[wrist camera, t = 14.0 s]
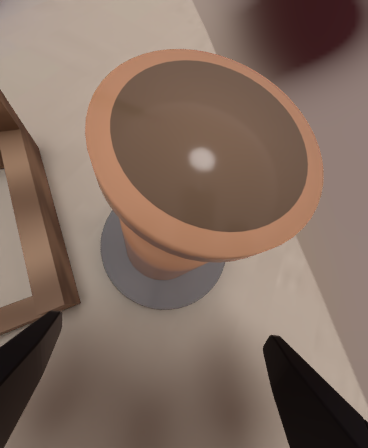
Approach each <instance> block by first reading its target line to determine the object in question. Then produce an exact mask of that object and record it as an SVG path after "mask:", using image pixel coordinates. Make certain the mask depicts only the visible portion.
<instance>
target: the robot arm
mask: <svg viewBox="0 0 368 448" xmlns="http://www.w3.org/2000/svg"><path fill="white" fill-rule="evenodd" d="M61 329H62V312H61V311H54V310H51V311H49V312H47V313H46V314H44V315H43V316H42V317H40V318H39V319H38V320H36V321H35V322H34V323H32V324H31V325H30V326H28V327H27V328H26V329H24V330H23V331H22V332H20V333H19V334H18V335H16V336H15V337H14V338H12V339H11V340H9V341H8V342H7V343H5V344H4V345H3V346H1V347H0V448H4V447H5V445H6V443H7V441H8V439H9V437H10V435H11V433H12V432H13V430H14V428H15V426H16V424H17V422H18V420H19V418H20V417H21V415H22V413H23V411H24V409H25V407H26V405H27V403H28V402H29V400H30V398H31V396H32V394H33V392H34V390H35V388H36V387H37V385H38V383H39V381H40V379H41V377H42V375H43V373H44V370H45V368H46V366H47V363H48V361H49V358H50V356H51V354H52V351H53V349H54V346H55V344H56V342H57V339H58V337H59V334H60V332H61ZM263 354H264V358H265V362H266V367H267V371H268V376H269V380H270V385H271V388H272V392H273V396H274V399H275V402H276V405H277V408H278V411H279V415H280V418H281V421H282V424H283V427H284V430H285V434H286V437H287V440H288V443H289V446H290V448H368V422H367V421H366V420H364V419H363V417H362V416H361V415H360V414H359V413H358V412H357V411H356V410H355V409H354V408H353V407H352V406H351V405H350V404H349V403H348V402H347V401H346V400H345V399H343V398H342V397H341V396H340V395H339V394H338V393H337V392H336V391H335V390H334V389H333V388H332V387H331V386H330V385H329V384H328V383H327V382H326V381H325V380H324V379H323V378H322V377H321V376H320V375H319V374H318V373H317V372H316V371H315V370H314V369H313V368H312V367H311V366H310V365H309V364H308V363H307V362H306V361H305V360H304V359H303V358H302V357H301V356H300V355H299V354H298V353H296V352H295V351H294V350H293V349H292V348H291V347H290V346H289V345H288V344H287V343H286V342H285V341H284V340H283V339H282V338H281V337H280V336H276V335H270V336H269V338H268V339H267V341H266V343H265V344H264V346H263Z"/></svg>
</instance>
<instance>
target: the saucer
mask: <svg viewBox="0 0 368 448" xmlns="http://www.w3.org/2000/svg"><path fill="white" fill-rule="evenodd" d="M101 256H102V261H103V265H104V268H105V270H106V272H107V275H108V277H109V278H110V280H111V281H112V283H113V284H114V285H115V286H116V288H117V289H118V290H119V291H120V292H121V293H122V294H124V295H125V296H126V297H127V298H129V299H131V300H132V301H134V302H136V303H138V304H140V305H142V306H146V307H149V308H154V309H176V308H181V307H184V306H187V305H189V304H192V303H194V302H196V301H197V300H199V299H200V298H202V297H203V296H204V295H206V294H207V293H208V292H209V291H210V290H211V289H212V288H213V286H214V285H215V284H216V282H217V281H218V279H219V277H220V275H221V273H222V271H223V268H224V265H225V262H218V263H216V262H208V263H206V264H204V265H202V266H200V267H198V268H196V269H194V270H192V271H190V272H188V273H186V274H184V275H182V276H179V277H177V278H175V279H171V280H155V279H152V278H149V277H147V276H144V275H143V274H141V273H140V272H139V271H138V270H136V268H135V267H134V266H133V265H132V263H131V262H130V260H129V258H128V255H127V252H126V247H125V243H124V238H123V233H122V228H121V224H120V219H119V217H118V216H117V215H116V214H115V213H114V211H113V210H112V212H111V213H110V215H109V217H108V218H107V221H106V223H105V225H104V228H103V232H102V236H101Z"/></svg>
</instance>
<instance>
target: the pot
mask: <svg viewBox="0 0 368 448" xmlns="http://www.w3.org/2000/svg"><path fill="white" fill-rule="evenodd" d="M85 135H86V143H87V150H88V153H89V156H90V159H91V163H92V166H93V169H94V172H95V175H96V178H97V181H98V184H99V187H100V189H101V191H102V193H103V195H104V197H105V199H106V201H107V202H108V204H109V205H110V207H111V208H112V210H113V211H114V213H115V214H116V215H117V216H118V217H119V219H120V224H121V228H122V233H123V238H124V243H125V247H126V252H127V255H128V258H129V260H130V262H131V263H132V265H133V266H134V267H135V268H136V270H138V271H139V272H140V273H141V274H143V275H144V276H147V277H149V278H152V279H155V280H171V279H175V278H177V277H179V276H182V275H184V274H186V273H188V272H190V271H192V270H194V269H196V268H198V267H200V266H202V265H204V264H206V263H208V262H216V263H218V262H230V261H236V260H240V259H244V258H248V257H250V256H253V255H256V254H259V253H262V252H264V251H267V250H269V249H272V248H274V247H277V246H279V245H281V244H283V243H285V242H286V241H288V240H289V239H291V238H293V237H294V236H295V235H296V234H297V233H298V232H299V231H301V229H303V227H304V226H305V225H306V224H307V222H308V221H309V220H310V219H311V217H312V216H313V213H314V212H315V210H316V208H317V206H318V203H319V200H320V197H321V193H322V187H323V163H322V157H321V153H320V149H319V146H318V143H317V141H316V138H315V135H314V133H313V131H312V129H311V127H310V125H309V124H308V122H307V121H306V119H305V117H304V116H303V114H302V113H301V112H300V110H299V109H298V108H297V107H296V105H295V104H294V103H293V102H292V101H291V100H290V99H289V98H288V96H287V95H285V93H283V92H282V91H281V90H280V89H279V88H278V87H277V86H276V85H274V84H273V83H272V82H270V81H269V80H267V79H266V78H265V77H264V76H262V75H260V74H259V73H257V72H256V71H254V70H252V69H250V68H248V67H247V66H245V65H243V64H240V63H238V62H236V61H234V60H231V59H229V58H226V57H223V56H220V55H216V54H212V53H208V52H203V51H197V50H187V49H167V50H160V51H154V52H150V53H146V54H142V55H140V56H137V57H134V58H132V59H130V60H128V61H126V62H124V63H123V64H121V65H119V66H118V67H117V68H115V69H114V70H113V71H112V72H110V73H109V74H108V75H107V76H106V77H105V79H104V80H103V81H102V82H101V83H100V85H99V86H98V88H97V89H96V91H95V92H94V94H93V97H92V99H91V101H90V104H89V107H88V112H87V116H86V128H85Z"/></svg>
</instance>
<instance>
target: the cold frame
mask: <svg viewBox="0 0 368 448" xmlns="http://www.w3.org/2000/svg"><path fill="white" fill-rule="evenodd" d="M2 168H5V173H6V177H7V182H8V186H9V191H10V195H11V200H12V205H13V209H14V214H15V218H16V223H17V227H18V232H19V236H20V241H21V246H22V250H23V255H24V259H25V264H26V268H27V273H28V277H29V282H30V286H31V291H32V296H31V297H29V298H26V299H23V300H20V301H18V302H15V303H12V304H9V305H7V306H4V307H1V308H0V335H2V334H5V333H7V332H10V331H12V330H15V329H17V328H20V327H22V326H25V325H27V324H30V323H32V322H35V321H36V320H38V319H39V318H40V317H42V316H43V315H44V314H46V313H47V312H49V311H51V310H54V311H62V310H65V309H67V308H70V307H72V306H75V305H77V304H80V303H81V302H80V299H79V295H78V291H77V288H76V284H75V280H74V277H73V273H72V269H71V265H70V262H69V258H68V254H67V251H66V247H65V243H64V240H63V236H62V232H61V229H60V225H59V221H58V218H57V214H56V210H55V207H54V203H53V199H52V196H51V192H50V188H49V185H48V181H47V177H46V174H45V170H44V166H43V163H42V159H41V155H40V152H39V148H38V146H37V145H36V143H35V142H34V140H33V139H32V137H31V136H30V134H29V133H28V131H27V130H26V128H25V127H24V125H23V123H22V122H21V120H20V119H19V117H18V116H17V114H16V113H15V111H14V110H13V108H12V107H11V105H10V104H9V102H8V101H7V99H6V98H5V96H4V94H3V93H2V91H1V90H0V169H2Z"/></svg>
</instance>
